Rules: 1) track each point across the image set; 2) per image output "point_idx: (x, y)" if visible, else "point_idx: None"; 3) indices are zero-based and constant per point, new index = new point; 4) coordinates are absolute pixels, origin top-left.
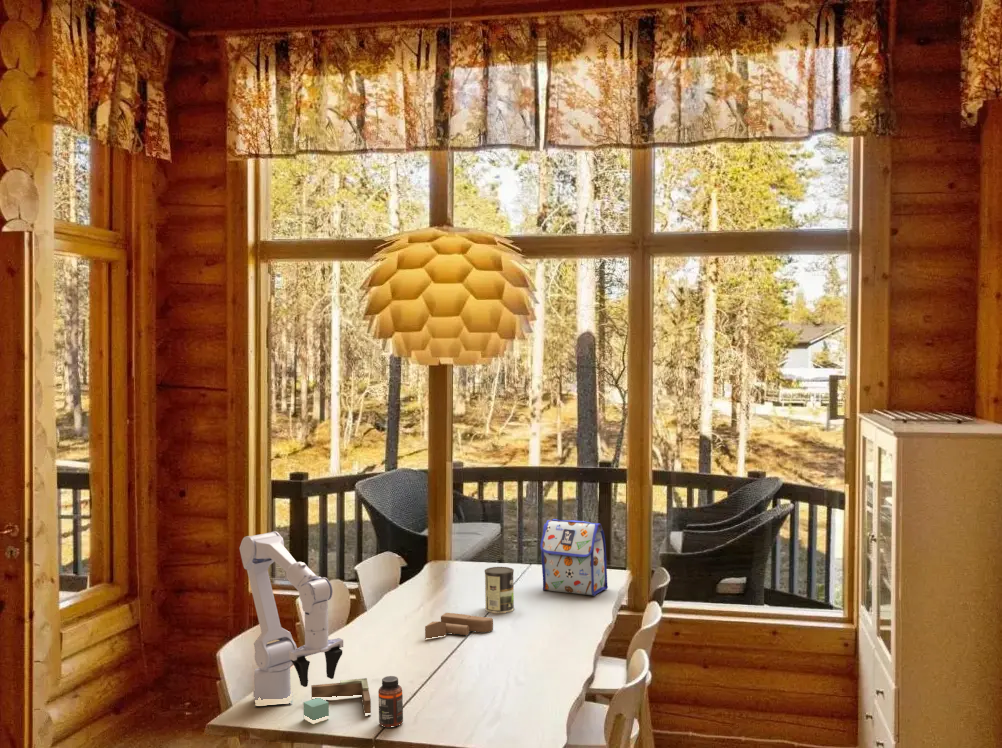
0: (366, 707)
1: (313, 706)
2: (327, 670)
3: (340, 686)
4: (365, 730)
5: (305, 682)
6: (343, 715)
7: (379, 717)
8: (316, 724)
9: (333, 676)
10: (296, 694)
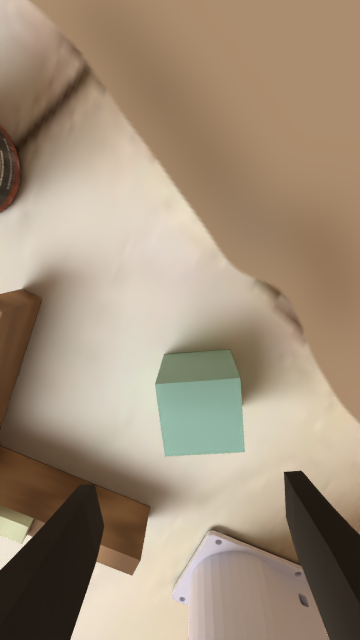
0: (15, 301)
1: (233, 384)
2: (85, 571)
3: (37, 511)
4: (89, 174)
5: (319, 492)
6: (104, 355)
7: (2, 167)
8: (218, 345)
9: (74, 493)
10: (162, 579)
